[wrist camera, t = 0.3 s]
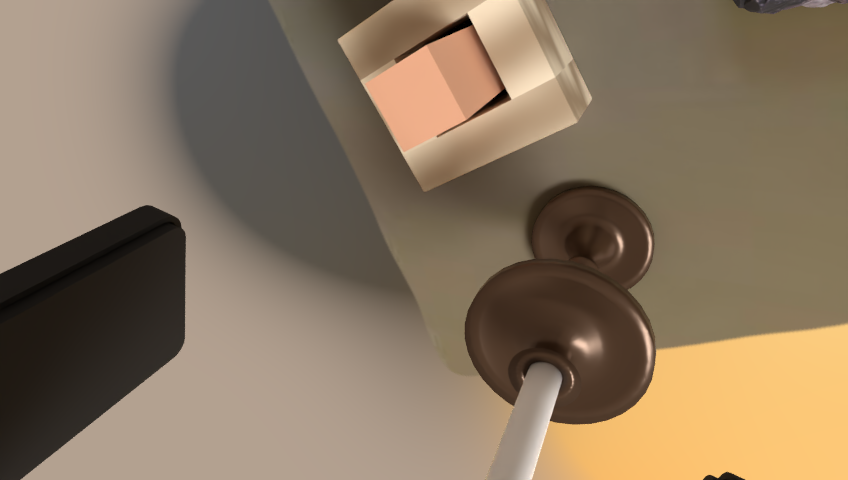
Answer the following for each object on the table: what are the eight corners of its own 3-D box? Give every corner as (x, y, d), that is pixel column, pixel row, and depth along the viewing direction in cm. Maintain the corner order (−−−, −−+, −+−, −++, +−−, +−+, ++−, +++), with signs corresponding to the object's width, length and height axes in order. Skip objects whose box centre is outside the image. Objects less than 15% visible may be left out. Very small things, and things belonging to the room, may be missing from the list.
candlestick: (654, 162, 41) (547, 695, 13) (678, 296, 45) (636, 942, 16) (508, 187, 46) (199, 604, 18) (540, 305, 50) (326, 807, 22)
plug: (440, 48, 44) (364, 83, 34) (491, 16, 41) (426, 45, 31) (469, 102, 45) (403, 152, 35) (521, 74, 42) (466, 120, 32)
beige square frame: (377, 27, 45) (337, 39, 40) (513, -67, 38) (485, -66, 33) (452, 164, 47) (424, 192, 42) (592, 98, 41) (577, 122, 36)
